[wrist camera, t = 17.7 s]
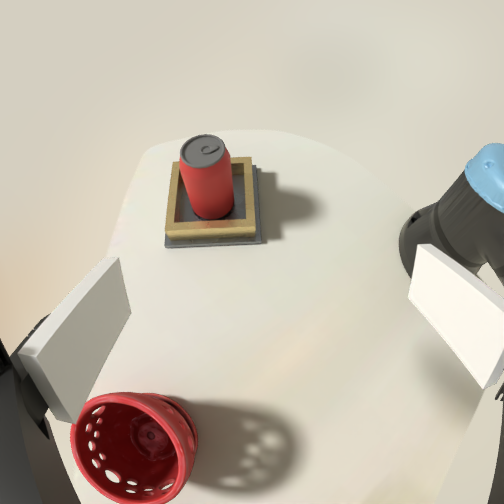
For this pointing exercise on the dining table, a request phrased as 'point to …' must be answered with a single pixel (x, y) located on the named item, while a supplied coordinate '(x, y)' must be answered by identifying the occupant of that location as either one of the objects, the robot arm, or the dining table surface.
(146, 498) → the plant pot
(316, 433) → the dining table surface
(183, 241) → the frame
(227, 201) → the beer can
